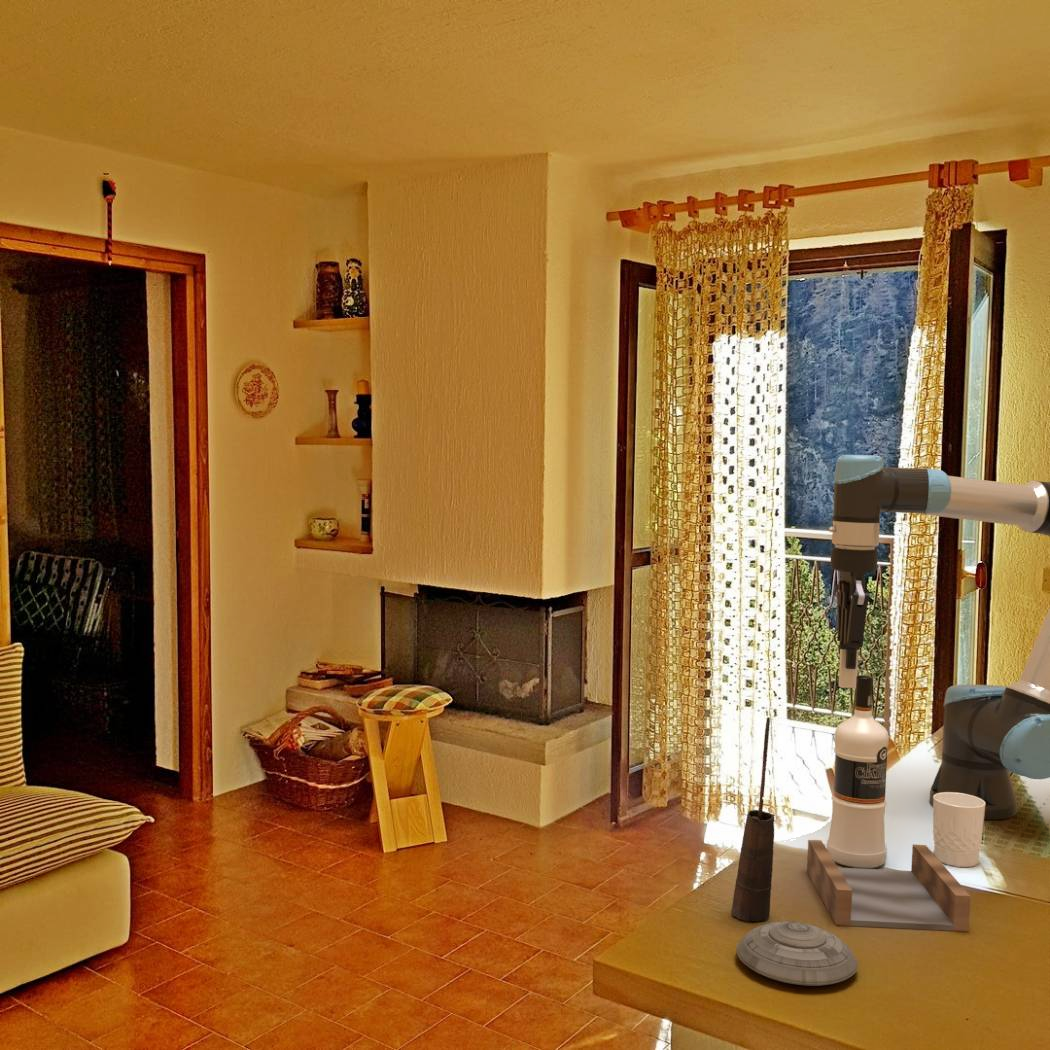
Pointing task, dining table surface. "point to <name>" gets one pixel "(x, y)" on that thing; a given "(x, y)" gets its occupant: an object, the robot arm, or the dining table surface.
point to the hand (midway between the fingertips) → (847, 686)
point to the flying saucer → (797, 954)
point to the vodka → (859, 786)
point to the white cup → (957, 828)
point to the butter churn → (756, 859)
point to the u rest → (890, 893)
